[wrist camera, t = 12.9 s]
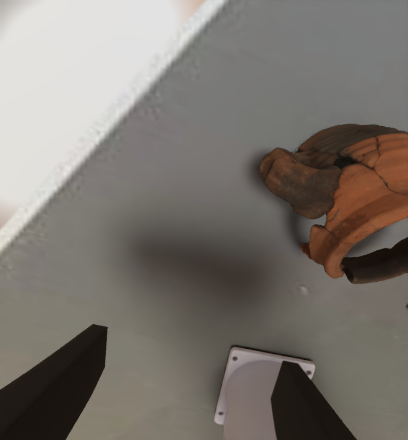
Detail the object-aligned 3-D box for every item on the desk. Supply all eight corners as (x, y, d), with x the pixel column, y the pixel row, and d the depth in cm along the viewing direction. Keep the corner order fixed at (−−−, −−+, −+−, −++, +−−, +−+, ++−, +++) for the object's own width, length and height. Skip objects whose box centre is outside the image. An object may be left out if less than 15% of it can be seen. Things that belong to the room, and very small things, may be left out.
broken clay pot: (414, 131, 15) (565, 200, 9) (327, 222, 21) (384, 299, 15) (272, 75, 12) (357, 123, 6) (218, 199, 18) (234, 284, 12)
